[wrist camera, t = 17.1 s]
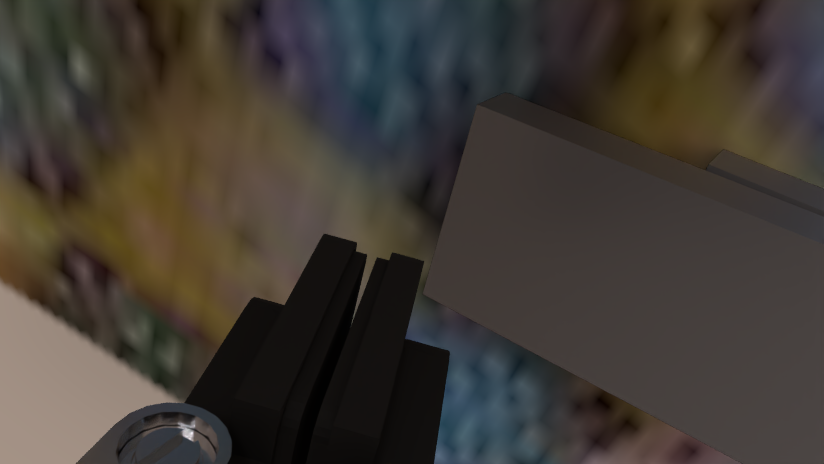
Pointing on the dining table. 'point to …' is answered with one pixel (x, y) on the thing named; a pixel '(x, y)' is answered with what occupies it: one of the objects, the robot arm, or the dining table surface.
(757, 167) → the domino
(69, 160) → the dining table surface
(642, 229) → the domino
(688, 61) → the dining table surface
